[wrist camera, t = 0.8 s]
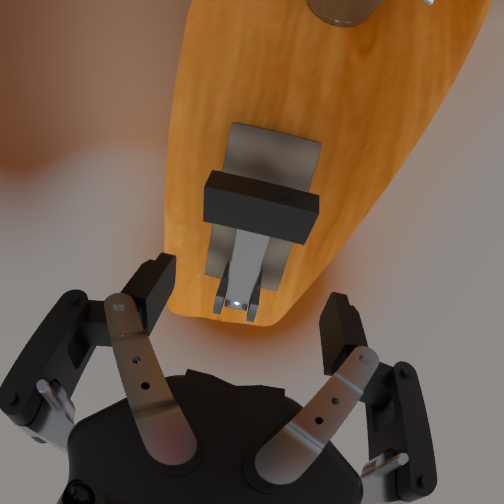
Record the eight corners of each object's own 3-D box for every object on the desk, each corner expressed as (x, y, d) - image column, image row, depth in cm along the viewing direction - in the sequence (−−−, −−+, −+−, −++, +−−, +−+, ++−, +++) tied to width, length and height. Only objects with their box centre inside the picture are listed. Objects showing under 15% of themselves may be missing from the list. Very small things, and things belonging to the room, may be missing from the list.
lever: (217, 159, 23) (204, 186, 20) (319, 183, 23) (319, 213, 20) (209, 281, 40) (203, 304, 37) (269, 295, 40) (265, 319, 37)
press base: (234, 122, 35) (217, 124, 25) (319, 142, 35) (334, 152, 25) (207, 268, 46) (189, 309, 36) (277, 284, 46) (275, 329, 36)
